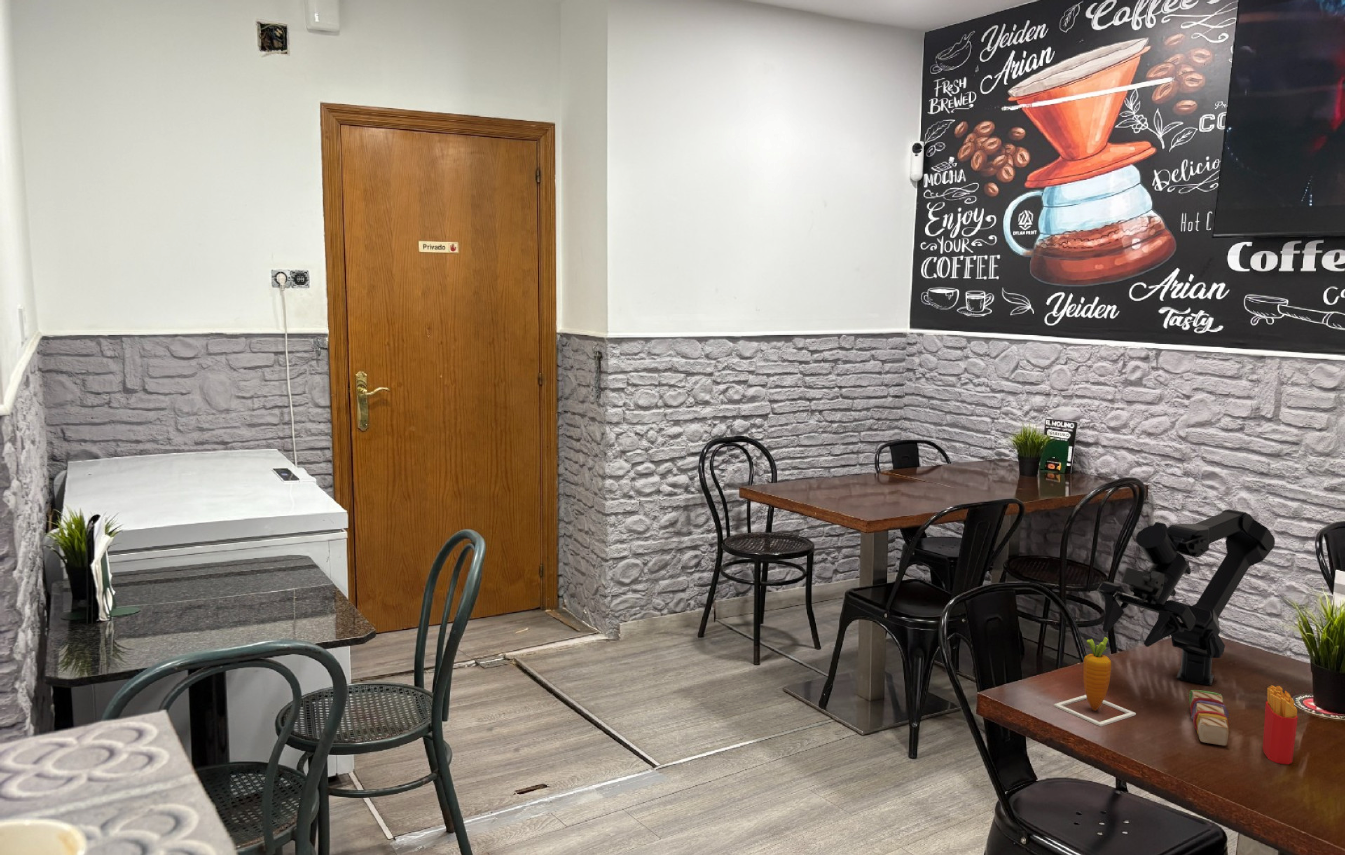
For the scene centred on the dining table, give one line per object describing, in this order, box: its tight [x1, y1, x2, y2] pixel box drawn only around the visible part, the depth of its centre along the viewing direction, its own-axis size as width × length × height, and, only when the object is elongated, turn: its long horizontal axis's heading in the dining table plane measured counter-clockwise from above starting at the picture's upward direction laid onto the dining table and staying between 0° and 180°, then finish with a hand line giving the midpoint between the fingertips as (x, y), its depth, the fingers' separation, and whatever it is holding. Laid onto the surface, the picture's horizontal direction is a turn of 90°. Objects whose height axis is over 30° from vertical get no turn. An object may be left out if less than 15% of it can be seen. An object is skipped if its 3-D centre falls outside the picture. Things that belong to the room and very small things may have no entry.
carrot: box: [1083, 636, 1112, 712], centre depth 189 cm, size 5×5×15 cm
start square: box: [1053, 694, 1137, 727], centre depth 190 cm, size 11×11×1 cm
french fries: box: [1262, 684, 1299, 765], centre depth 171 cm, size 8×4×12 cm, turn 162°
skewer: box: [1188, 689, 1230, 747], centre depth 184 cm, size 21×6×5 cm, turn 156°
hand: (1124, 638), depth 192 cm, fingers open, 9 cm apart
